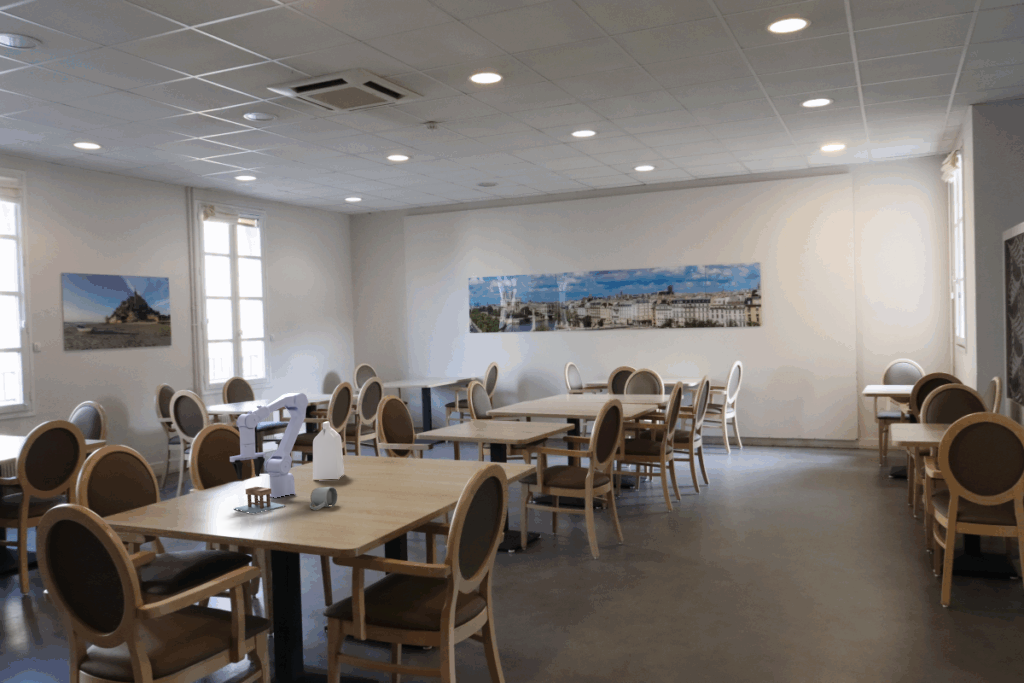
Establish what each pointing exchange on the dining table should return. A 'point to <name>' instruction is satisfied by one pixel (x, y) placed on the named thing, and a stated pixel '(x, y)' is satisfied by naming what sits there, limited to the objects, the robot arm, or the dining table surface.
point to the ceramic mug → (323, 497)
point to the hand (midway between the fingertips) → (248, 477)
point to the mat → (257, 507)
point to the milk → (327, 454)
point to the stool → (259, 492)
